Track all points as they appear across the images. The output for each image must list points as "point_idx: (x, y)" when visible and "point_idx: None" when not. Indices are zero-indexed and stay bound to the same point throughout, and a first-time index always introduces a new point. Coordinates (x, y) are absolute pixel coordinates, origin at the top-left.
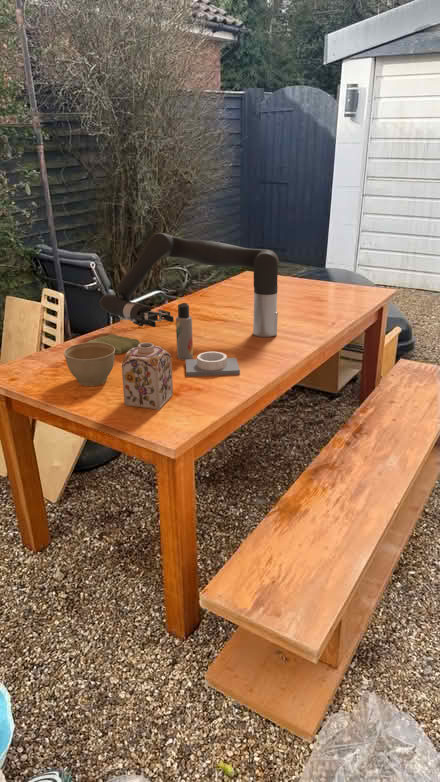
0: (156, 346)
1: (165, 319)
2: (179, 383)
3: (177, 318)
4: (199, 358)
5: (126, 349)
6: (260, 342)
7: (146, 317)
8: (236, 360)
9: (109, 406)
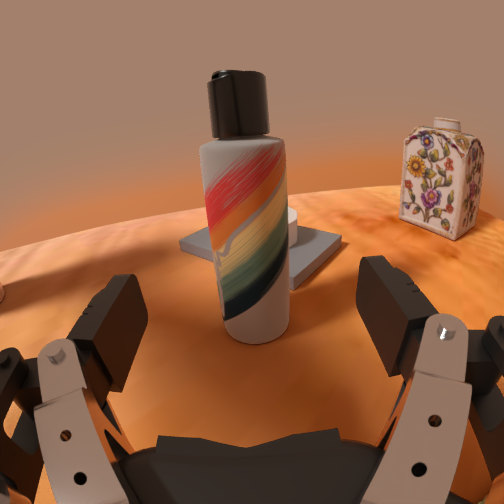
0: (428, 128)
1: (107, 400)
2: (371, 235)
3: (279, 139)
4: (292, 217)
5: (479, 502)
6: (36, 285)
7: (435, 377)
8: (194, 233)
9: (495, 231)
